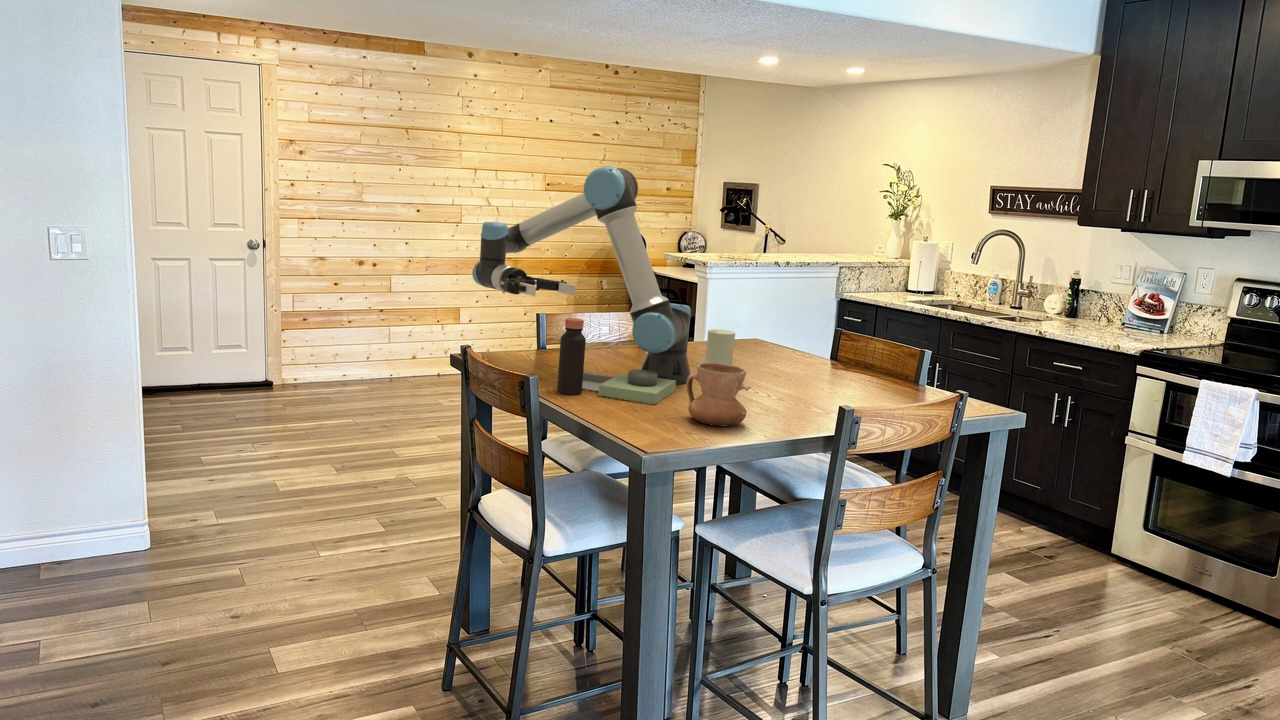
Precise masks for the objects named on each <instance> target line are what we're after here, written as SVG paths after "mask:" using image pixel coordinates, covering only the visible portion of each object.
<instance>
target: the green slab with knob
mask: <svg viewBox="0 0 1280 720" xmlns="http://www.w3.org/2000/svg"><path fill="white" fill-rule="evenodd" d="M676 385H677V384H676V381H675V380H669V379H662V378H657V373H656V372H653V371H648V370H641V369H630V370H629V371H628V373H627V372H622V373H619V374H618V375H615V376H610V375H604V374H599V373H598V374H597V373H590V372H585V371H583V383H582V389H585V390H584V391H589V390H592V391H591V392H595V391H598V393H597V395H599V396H598V397H602V396H606V397H605V398H608V397H611V398H610V399H615V398H618V399H617V400H621V399H624V400H623V401H627V400H629V402H635V403H640V402H641V404H649V405H653V404H655V405H657V404H658V403H660V402H662V401H663V400H664V399H665V397H666V398H667V397H668V396H670V395H671V394H673V393H674V392H676ZM662 399H663V400H662ZM656 403H657V404H656Z"/></svg>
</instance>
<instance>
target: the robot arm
mask: <svg viewBox="0 0 1280 720" xmlns="http://www.w3.org/2000/svg"><path fill="white" fill-rule="evenodd" d="M638 183H639V182H638V181H637V178H636V177H635V176H634V174H633V172H631V171H629V170H628V169H625V168H621V167H614V166H609V165H605V166H600V167H598V168H595V169H593V170H592V171H591V172H590V173H589V174H588V175H587V177H586V179H585V181H584V183H583V192H582V193H580V194H579V195H578V194H577V195H576V196H574V197H572V198H570V199H568V200H566V201H563V202H561V203H559V204H557V205H554V206H553V207H550V208H549V209H546V210H544V211H542V212H540V213H538V214H536V215H533V216H532V217H529V218H527V219H525V220H523V221H521V222H519V223H516V224H515V225H512V226H510V227H508V225H507V223H505V222H498V221H497V222H496V221H485V222H483V223H482V225H481V233H480V253H479V261H478V262H476V264H475V265H474V267H473V268H472V271H471V274H472V275H471V276H472V279H473V281H474V282H475V283H476V284H477V285H479V286H483V287H484V288H489V289H493V290H497V291H500V292H501V293H502V294H506V293H508V294H513V295H520V294H523V295H527V296H532V297H535V296H536V291H539V290H544V291H545V290H547V291H554V292H555V291H556V292H558V293H563V294H566V295H569V296H575V295H576V285H573V284H570V283H568V282H567V281H564V279H561V280H553V279H546V278H541V277H533V276H529V275H527V273H526V272H525V270H523V269H521V268H518V267H513V266H510V265H506V260H507V259H506V256H507V254H512V253H513V254H517V253H520V252H522V251H524V250H526V249H527V247H529V246H532V245H533V244H536V243H539V242H541V241H543V240H545V239H547V238H549V237H551V236H554V235H556V234H558V233H560V232H562V231H565V230H567V229H568V228H572V227H573V226H576V225H578V224H580V223H583V222H584V221H586V220H589V219H591V218H593V217H595V216H596V218H597V221H598V222H600V223H602V224H603V225H604V226H605V228H606V230H607V233H608V236H609V239H610V243H611V245H612V248H613V251H614V254H615V257H616V260H617V263H618V265H619V269H620V272H621V275H622V277H623V280H624V284H625V285H626V286H625V287H626V289H627V292H628V295H629V297H630V300H631V303H632V306H631V308H630V311H629V314H630V318H631V320H632V330H631V331H632V338H633V341H634V342H635V344H636V345H637V347H639V349H641V350H642V351H644V352H646V356H645V359H644V361H643V363H642V365H641V367H640V370H648V371H653V372H656V373H657V378H662V379H669V380H675V381H676V385H682V384H686V382H687V379H688V377H689V375H691V374H692V373H691V370H690V366H689V365H690V364H689V359H688V346H689V345H688V344H689V336H690V335H689V334H690V327H691V326H690V325H691V318H692V314H691V312H692V311H691V307H690V306H689V305H686V304H680V303H679V304H678V303H671V302H670V300H669V298H667V297H666V296H663V295H662V292H661V291H660V288H659V287H660V286H659V284H658V281H657V278H656V275H655V273H654V269H653V267H652V264H651V261H650V260H651V259H650V257H649V254H648V252H647V248H646V245H645V243H644V240H643V236H642V234H641V231H640V228H639V225H638V222H637V219H636V217H635V213H636V211H637V208H638V205H637V203H636V199H637V196H638V194H639V184H638Z"/></svg>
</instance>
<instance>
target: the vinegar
mask: <svg viewBox="0 0 1280 720" xmlns="http://www.w3.org/2000/svg"><path fill="white" fill-rule="evenodd" d="M584 321H585V320H584V319H582V318H577V317H568V318H565V320H564V329H565V332H564V333H563V334H562V335H561V336H560V342H559V344H560V345H559V346H560V347H559V354H558V355H559V358H558V370H557V371H558V372H557V385H556V388H557V389H556V391H557V392H558V393H559V394H561V393H562V395H566V394H568V395H567V396H569V395H570V396H575V395H576V394H578V395H580V394H582V393H583V390H582V383H583V372H584V368H585V355H586V354H585V353H586V342H587V340H586V339H587V338H586V337H585V336H584V334H583V332H582V331H583V329H584Z"/></svg>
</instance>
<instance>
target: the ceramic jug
mask: <svg viewBox="0 0 1280 720" xmlns="http://www.w3.org/2000/svg"><path fill="white" fill-rule="evenodd" d="M696 370H697V373H696V372H695V373H691V375H689V377H688V379H687V382H686V383H685V385H686V386H685V388H686V393H687V396H688V400H689V405H688V413H689V415H690V416H691V417H692V418H693V419H694V420H696V421H697V422H700V423H702V424H704V423H706V424H705V425H708V424H712V425H711V426H713V425H731V426H735V425H738V424H740V423H742V422H743V421H744V420H745V418H746V417H747V409H746V407H745V405H743V404H742V403H741V402H740V401H739V400H738V399H737V398H736V396H737V394H738V392H739V391H742V390H745V391H746V392H748V391H749V390H750V389H752V386H750V384H748V383H744V381H745V378H746V376H747V369H745V368H744V367H742V366H738V365H733V364H732V365H725V364H719V363H705V362H700V363H698V364H697V369H696ZM694 380H696V381H697V382H698V383H699V387H700V391H701V392H702V393H701V394H700V396H698V397H694V392H693V381H694Z"/></svg>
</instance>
